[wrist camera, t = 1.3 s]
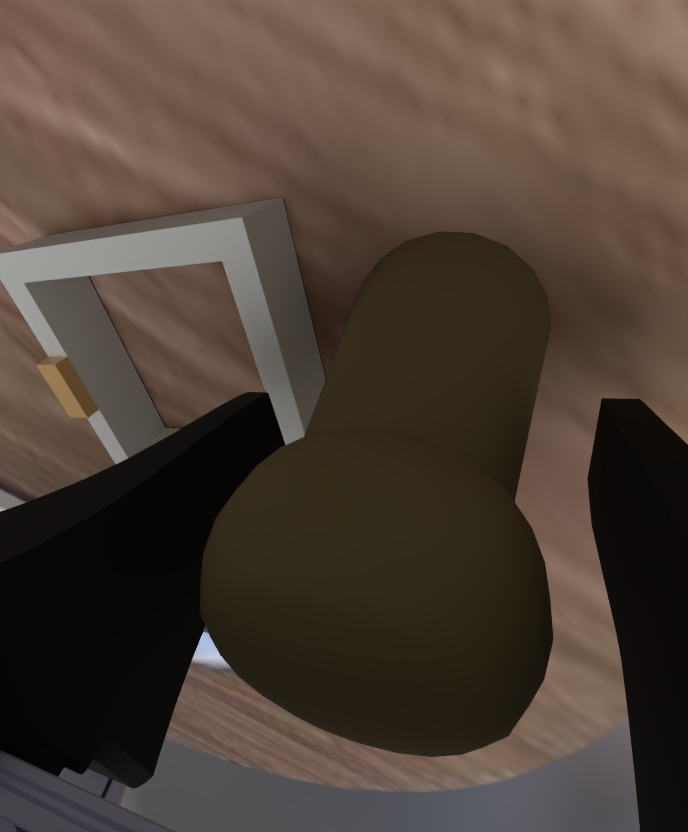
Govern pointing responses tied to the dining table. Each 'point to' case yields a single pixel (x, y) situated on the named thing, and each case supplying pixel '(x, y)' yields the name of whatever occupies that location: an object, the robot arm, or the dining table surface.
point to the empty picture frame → (156, 248)
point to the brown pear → (400, 517)
